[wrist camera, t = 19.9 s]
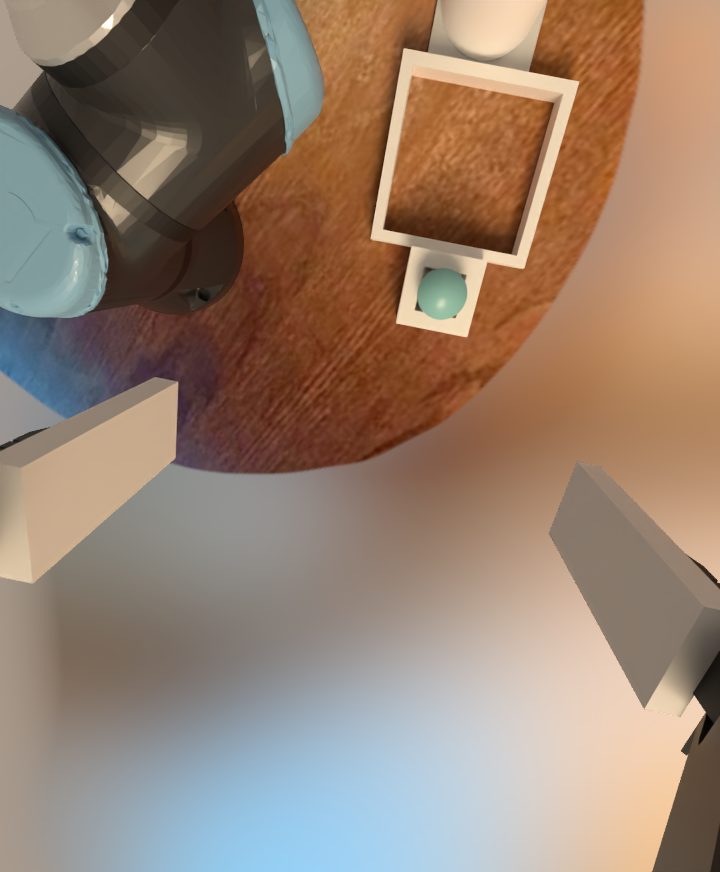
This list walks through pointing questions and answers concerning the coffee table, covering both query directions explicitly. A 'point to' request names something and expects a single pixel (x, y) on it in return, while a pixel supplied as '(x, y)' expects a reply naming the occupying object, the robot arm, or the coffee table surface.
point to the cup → (489, 25)
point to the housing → (474, 260)
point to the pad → (512, 60)
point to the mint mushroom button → (442, 293)
